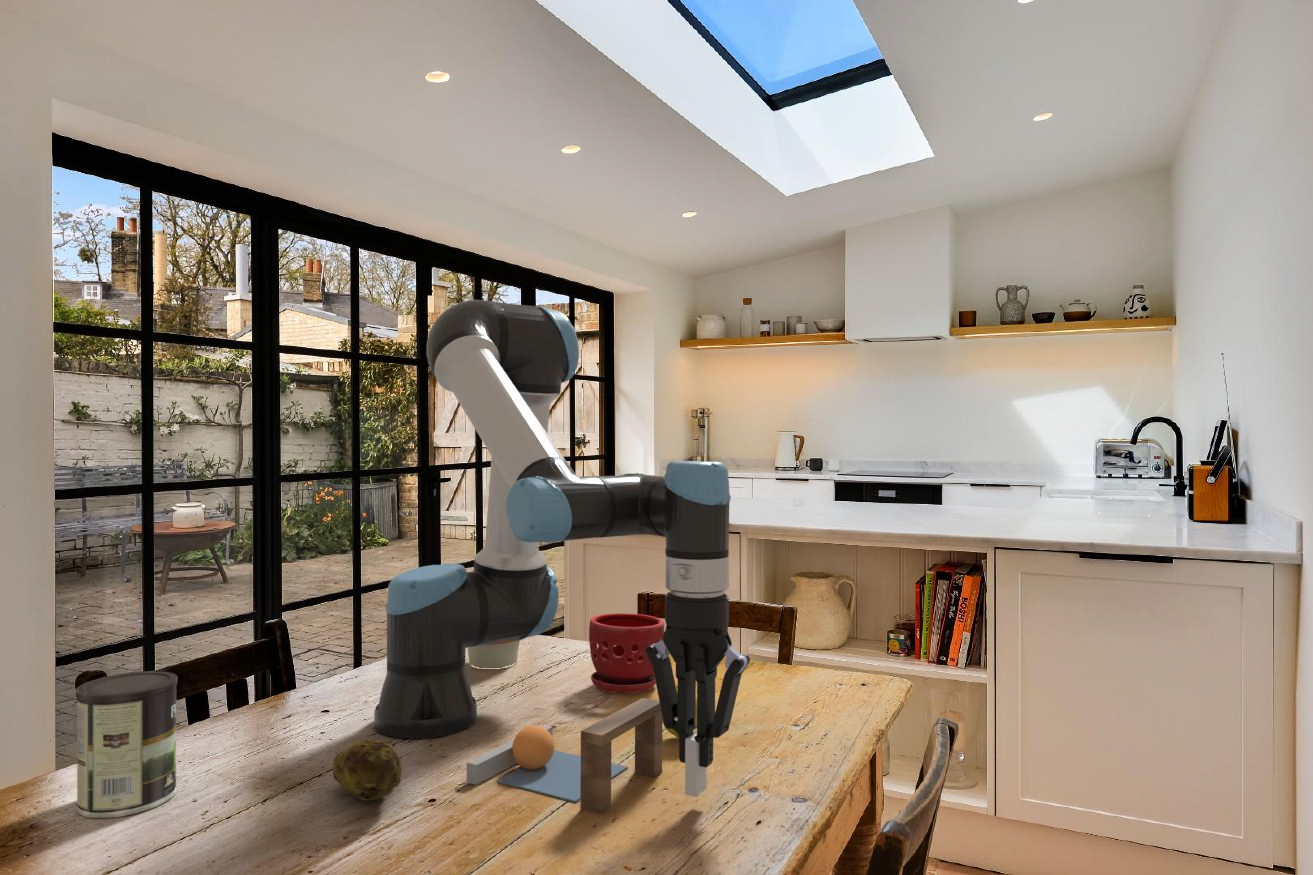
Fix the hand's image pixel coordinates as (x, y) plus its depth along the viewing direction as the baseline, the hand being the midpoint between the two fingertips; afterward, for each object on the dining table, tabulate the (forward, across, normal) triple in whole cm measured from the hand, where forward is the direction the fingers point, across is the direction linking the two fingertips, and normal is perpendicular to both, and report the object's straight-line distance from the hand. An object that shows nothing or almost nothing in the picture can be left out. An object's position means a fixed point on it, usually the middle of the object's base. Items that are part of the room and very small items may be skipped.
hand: (695, 791), depth 99 cm
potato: (+2, -35, -18) cm, 40 cm away
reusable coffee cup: (+2, -62, +37) cm, 72 cm away
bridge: (+2, -10, 0) cm, 10 cm away
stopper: (+2, -28, 0) cm, 28 cm away
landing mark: (+2, -19, 0) cm, 19 cm away
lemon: (+2, -12, +19) cm, 23 cm away
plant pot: (+2, -32, +37) cm, 49 cm away
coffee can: (+2, -60, -32) cm, 68 cm away
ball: (-1, -24, 0) cm, 24 cm away
